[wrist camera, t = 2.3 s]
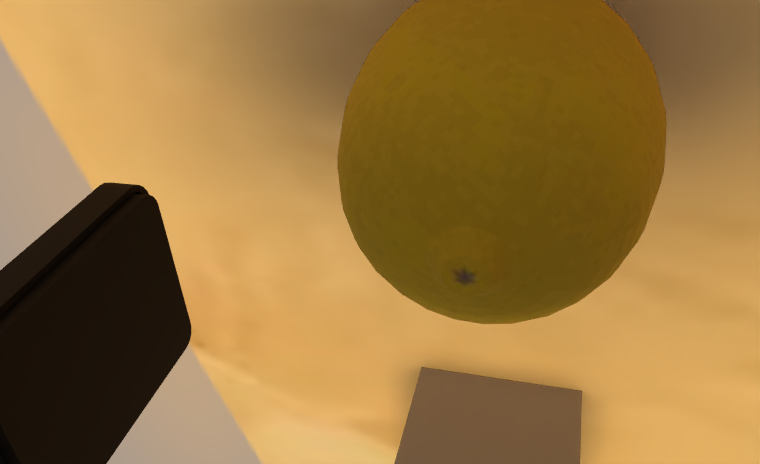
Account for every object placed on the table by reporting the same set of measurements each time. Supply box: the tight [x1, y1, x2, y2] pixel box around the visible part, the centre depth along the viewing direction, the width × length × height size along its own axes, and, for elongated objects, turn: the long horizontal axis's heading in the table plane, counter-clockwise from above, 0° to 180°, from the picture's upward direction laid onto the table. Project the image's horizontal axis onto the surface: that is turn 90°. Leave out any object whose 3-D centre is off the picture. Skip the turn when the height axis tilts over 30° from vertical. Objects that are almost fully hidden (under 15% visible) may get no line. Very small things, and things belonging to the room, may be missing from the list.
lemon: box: [338, 0, 666, 324], centre depth 12 cm, size 6×6×8 cm
